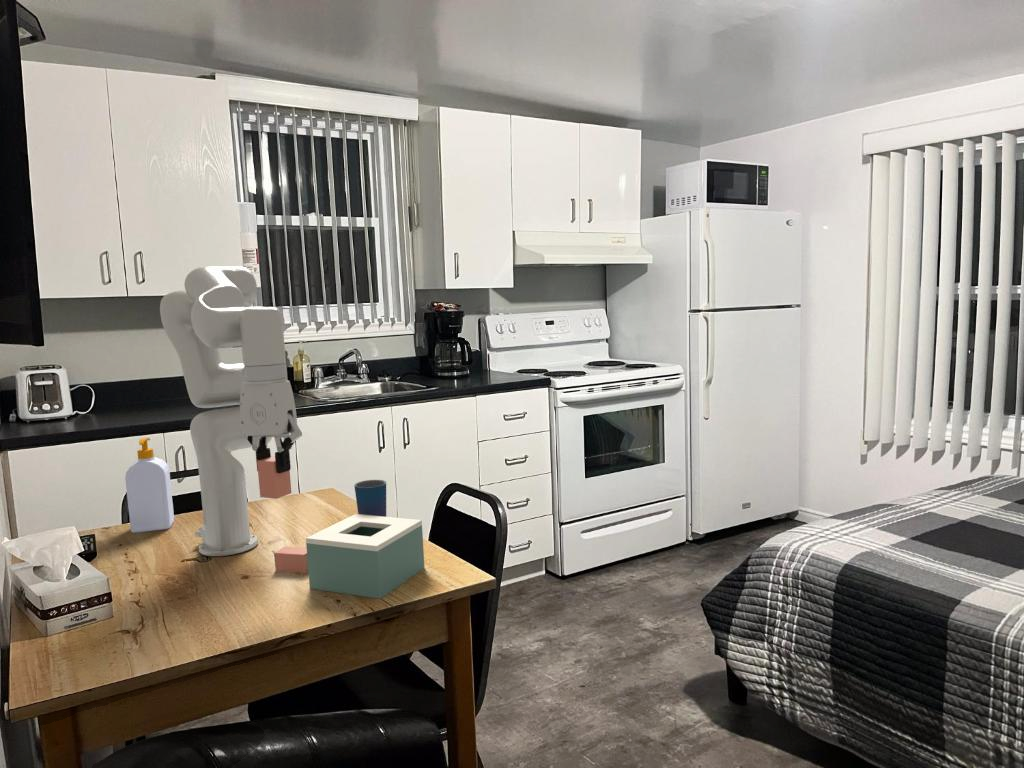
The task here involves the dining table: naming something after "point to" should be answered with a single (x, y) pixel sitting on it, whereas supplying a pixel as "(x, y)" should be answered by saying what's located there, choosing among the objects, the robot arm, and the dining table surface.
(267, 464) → the salmon pink block
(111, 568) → the dining table surface
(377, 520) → the green and cream box
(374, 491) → the cup
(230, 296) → the robot arm
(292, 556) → the block
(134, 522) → the soap bottle
